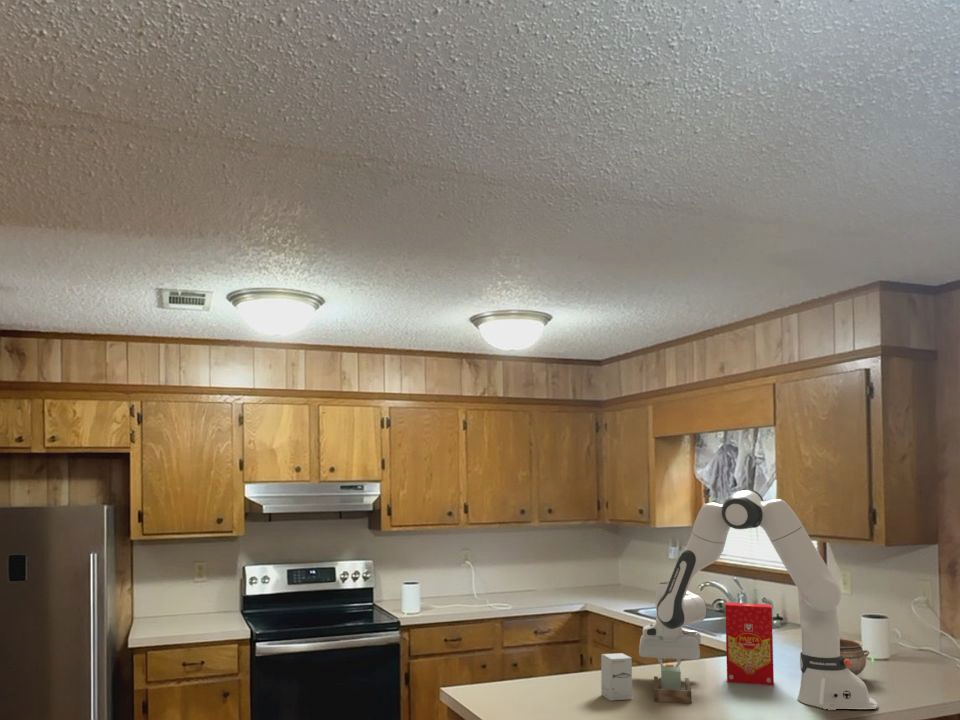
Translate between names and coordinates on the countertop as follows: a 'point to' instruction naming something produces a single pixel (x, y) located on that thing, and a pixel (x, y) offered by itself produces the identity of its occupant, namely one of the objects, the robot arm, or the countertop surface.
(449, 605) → the countertop surface
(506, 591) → the countertop surface
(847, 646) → the cooking pot
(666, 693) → the lane
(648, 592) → the countertop surface
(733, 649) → the food packaging
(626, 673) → the supplement box
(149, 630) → the countertop surface
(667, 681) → the block
